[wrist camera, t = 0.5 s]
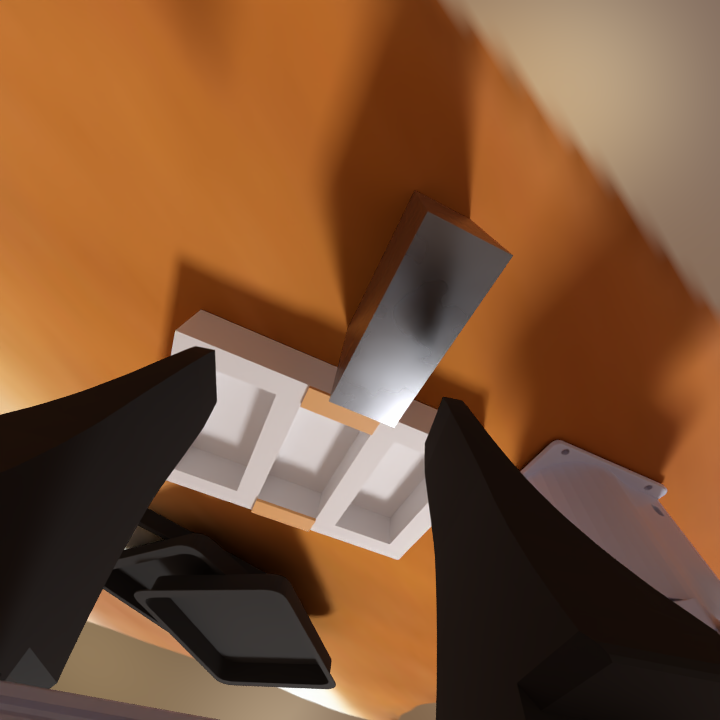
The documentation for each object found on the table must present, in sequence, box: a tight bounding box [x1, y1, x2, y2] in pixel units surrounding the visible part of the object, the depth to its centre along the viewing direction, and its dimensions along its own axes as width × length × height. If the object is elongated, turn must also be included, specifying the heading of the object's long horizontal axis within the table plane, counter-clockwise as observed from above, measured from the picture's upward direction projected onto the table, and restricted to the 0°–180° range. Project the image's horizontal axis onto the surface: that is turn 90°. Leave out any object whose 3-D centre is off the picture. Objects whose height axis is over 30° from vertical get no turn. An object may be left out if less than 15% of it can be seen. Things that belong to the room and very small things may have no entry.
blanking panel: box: [329, 190, 513, 428], centre depth 15 cm, size 3×8×7 cm, turn 156°
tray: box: [103, 508, 336, 689], centre depth 34 cm, size 30×23×5 cm
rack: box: [167, 310, 438, 560], centre depth 23 cm, size 20×12×3 cm, turn 66°
